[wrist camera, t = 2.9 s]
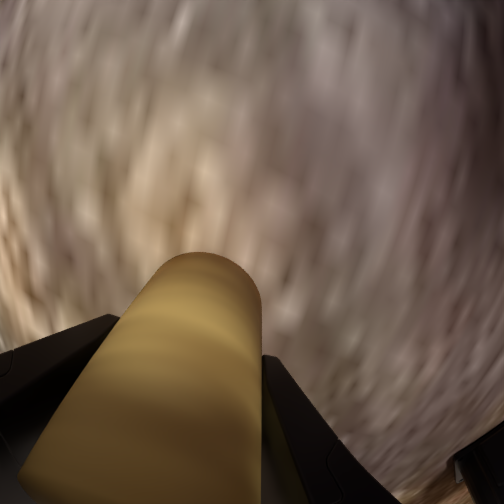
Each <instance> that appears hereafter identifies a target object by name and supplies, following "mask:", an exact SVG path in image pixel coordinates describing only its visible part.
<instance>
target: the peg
mask: <svg viewBox="0 0 504 504" xmlns="http://www.w3.org/2000/svg"><path fill="white" fill-rule="evenodd" d="M261 422H262V305H261V298H260V294H259V291H258V289H257V287H256V285H255V283H254V281H253V280H252V279H251V277H250V276H249V275H248V274H247V273H246V272H245V271H244V270H243V269H242V268H241V267H240V266H239V265H237V264H236V263H234V262H232V261H231V260H229V259H227V258H225V257H222V256H219V255H216V254H212V253H206V252H191V253H186V254H181V255H179V256H176V257H174V258H172V259H170V260H168V261H167V262H166V263H164V264H163V265H162V266H161V267H160V268H159V269H158V270H157V271H156V273H155V274H154V275H153V276H152V278H151V279H150V280H149V281H148V283H147V284H146V285H145V287H144V288H143V289H142V290H141V292H140V293H139V294H138V296H137V297H136V298H135V300H134V301H133V302H132V303H131V305H130V306H129V307H128V309H127V310H126V311H125V313H124V314H123V315H122V317H121V318H120V319H119V321H118V322H117V323H116V325H115V326H114V328H113V329H112V330H111V332H110V333H109V334H108V336H107V337H106V338H105V340H104V341H103V343H102V344H101V345H100V347H99V348H98V350H97V351H96V352H95V354H94V355H93V357H92V358H91V359H90V361H89V362H88V364H87V365H86V367H85V368H84V370H83V371H82V372H81V374H80V375H79V377H78V378H77V380H76V381H75V383H74V384H73V386H72V387H71V389H70V390H69V392H68V393H67V395H66V396H65V398H64V399H63V401H62V402H61V404H60V405H59V407H58V408H57V410H56V411H55V413H54V415H53V416H52V418H51V419H50V421H49V422H48V424H47V426H46V427H45V429H44V430H43V432H42V434H41V435H40V437H39V439H38V440H37V442H36V444H35V445H34V447H33V449H32V450H31V452H30V454H29V455H28V457H27V459H26V460H25V462H24V464H23V466H22V467H21V469H20V471H19V473H18V475H17V479H18V482H19V483H20V485H21V487H22V488H23V489H24V491H25V492H26V493H27V494H28V495H29V496H30V497H31V498H32V499H33V500H34V501H35V502H36V503H37V504H261Z"/></svg>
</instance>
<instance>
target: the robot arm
mask: <svg viewBox="0 0 504 504" xmlns="http://www.w3.org/2000/svg"><path fill="white" fill-rule="evenodd" d="M119 319H120V317H117V316H114V315H111V314H106V315H103V316H101V317H98V318H95V319H93V320H90V321H87V322H85V323H82V324H79V325H77V326H74V327H71V328H69V329H66V330H63V331H61V332H58V333H55V334H53V335H50V336H47V337H45V338H42V339H39V340H37V341H34V342H31V343H29V344H26V345H23V346H21V347H18V348H15V349H14V351H13V350H10V351H7V352H4V353H1V354H0V504H37V503H36V502H35V501H34V500H33V499H32V498H31V497H30V496H29V495H28V494H27V493H26V492H25V491H24V489H23V488H22V487H21V485H20V483H19V482H18V479H17V475H18V473H19V471H20V469H21V467H22V466H23V464H24V462H25V460H26V459H27V457H28V455H29V454H30V452H31V450H32V449H33V447H34V445H35V444H36V442H37V440H38V439H39V437H40V435H41V434H42V432H43V430H44V429H45V427H46V426H47V424H48V422H49V421H50V419H51V418H52V416H53V415H54V413H55V411H56V410H57V408H58V407H59V405H60V404H61V402H62V401H63V399H64V398H65V396H66V395H67V393H68V392H69V390H70V389H71V387H72V386H73V384H74V383H75V381H76V380H77V378H78V377H79V375H80V374H81V372H82V371H83V370H84V368H85V367H86V365H87V364H88V362H89V361H90V359H91V358H92V357H93V355H94V354H95V352H96V351H97V350H98V348H99V347H100V345H101V344H102V343H103V341H104V340H105V338H106V337H107V336H108V334H109V333H110V332H111V330H112V329H113V328H114V326H115V325H116V323H117V322H118V321H119ZM453 464H454V475H455V481H456V483H460V482H462V481H465V484H466V486H467V488H468V491H469V493H470V495H471V498H472V500H473V502H474V504H504V423H503V424H501V425H500V426H499V427H497V428H496V429H494V430H493V431H492V432H490V433H489V434H487V435H486V436H485V437H483V438H482V439H480V440H479V441H477V442H476V443H474V444H473V445H471V446H469V447H468V448H466V449H465V450H463V451H461V452H460V453H458V454H457V455H456V456H454V458H453ZM261 504H402V503H400V502H399V501H398V500H397V499H396V498H395V497H394V496H393V495H392V494H391V493H390V492H388V491H387V490H386V489H385V488H384V487H383V486H382V485H381V484H380V483H379V482H378V481H377V480H376V479H375V478H374V477H373V476H372V475H371V474H370V473H369V472H368V471H367V470H366V469H365V468H364V467H363V466H362V465H361V464H360V463H359V462H358V461H357V460H356V458H355V457H354V456H353V455H352V454H351V453H350V451H349V450H348V449H347V448H346V447H345V445H344V444H343V443H342V442H341V440H338V437H337V435H336V434H335V433H334V432H333V430H332V429H331V428H330V426H329V425H328V424H327V423H326V421H325V420H324V419H323V417H322V416H321V415H320V413H319V412H318V411H317V410H316V408H315V407H314V406H313V404H312V403H311V402H310V400H309V399H308V398H307V396H306V395H305V394H304V392H303V391H302V390H301V388H300V387H299V386H298V384H297V383H296V382H295V380H294V379H293V378H292V376H291V375H290V374H289V372H288V371H287V370H286V368H285V367H284V365H283V364H282V363H281V361H280V360H279V359H278V358H277V357H275V356H270V355H263V356H262V422H261Z"/></svg>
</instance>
